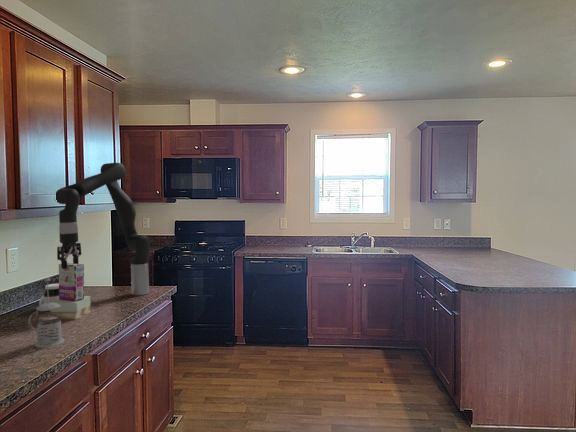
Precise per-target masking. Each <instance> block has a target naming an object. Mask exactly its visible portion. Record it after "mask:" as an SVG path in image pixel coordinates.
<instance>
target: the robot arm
mask: <svg viewBox="0 0 576 432" xmlns="http://www.w3.org/2000/svg"><path fill="white" fill-rule="evenodd" d="M126 174H127V169H126V166H125V165H123V163H120V162H109V163H108V162H107V163H104V164H102V165H101V167H100V172H99V173H98V174H94V175H91V176H87V177H85V178H83V179H81V180H79V181H77V182H75V183H73V184H70V185H66V186H63V187H61V188H59V189H58V190H57V191H56V192H55V193H56V200H57V202H56V203H58V204H59V205H65V206H64V209H61V210H60V211H59V213H58V218H59V220H58V222H59V226H58V230H59V231H58V232H59V233H58V234H59V243H60V244H62V245H61V246H57V247H56V249H57V250H56V253H57V254H56V256H57V257H56V258H57V261H60V264H61V265H62V266H61V267H62V269H67V263H68V261H67V260H68V257H70V255H72V264H80V263H79V258H80V256H82V246H81V242H79V232H78V231H79V229H78V221H77V218H78V217H77V214H78V213H77V212H78V208H79V204H80V197H84V196H87V195H89V194H90V193H92V192H94V191H96V190H98V189H100V188H101V187H103V186H105V187H106V189H107V190H108V193H109V194H110V198H111V200H112V202H113V205H114V208H115V211H116V213H117V215H118V216H117V217H118V218H119V221H120V224H121V227H122V230H123V235H124V237H125V242H126V245H127V248H128V249H129V250H131V251H132V252H135V255H134V257H132V258H131V259H130V277H131V278H130V279H131V280H130V283H131V284H130V285H131V295H132V296H144V295H147V294H149V293H150V281H149V280H150V277H149V274H150V273H149V272H150V271H149V259H150V256H151V255H150V251H151V250H150V249H151V245H150V244H151V242H150V238H149V237H148V236H146V235H145V234H138V232H137V229H136V226H135V220H136V216H137V213H136V209H135V206H134V203H133V201H132V199H131V198H130V196H129V195H128V194H127V193H126V192H125V191H124V190H123V189H122V187H121V186H120V183H119V182H118V181H120V180H123V179H124V178H125V177H126ZM56 200H55V201H56Z"/></svg>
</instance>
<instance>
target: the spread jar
mask: <svg viewBox="0 0 576 432" xmlns="http://www.w3.org/2000/svg"><path fill="white" fill-rule="evenodd" d="M48 298H49V303H52V302H54V301H56V300H58V299H59V283H50V284H48V291H47V284H46V285H45V290H44V291H43V295H41V297H40V299H39V301H38V304H39V306H40V305H42V304H45V303H48Z"/></svg>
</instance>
